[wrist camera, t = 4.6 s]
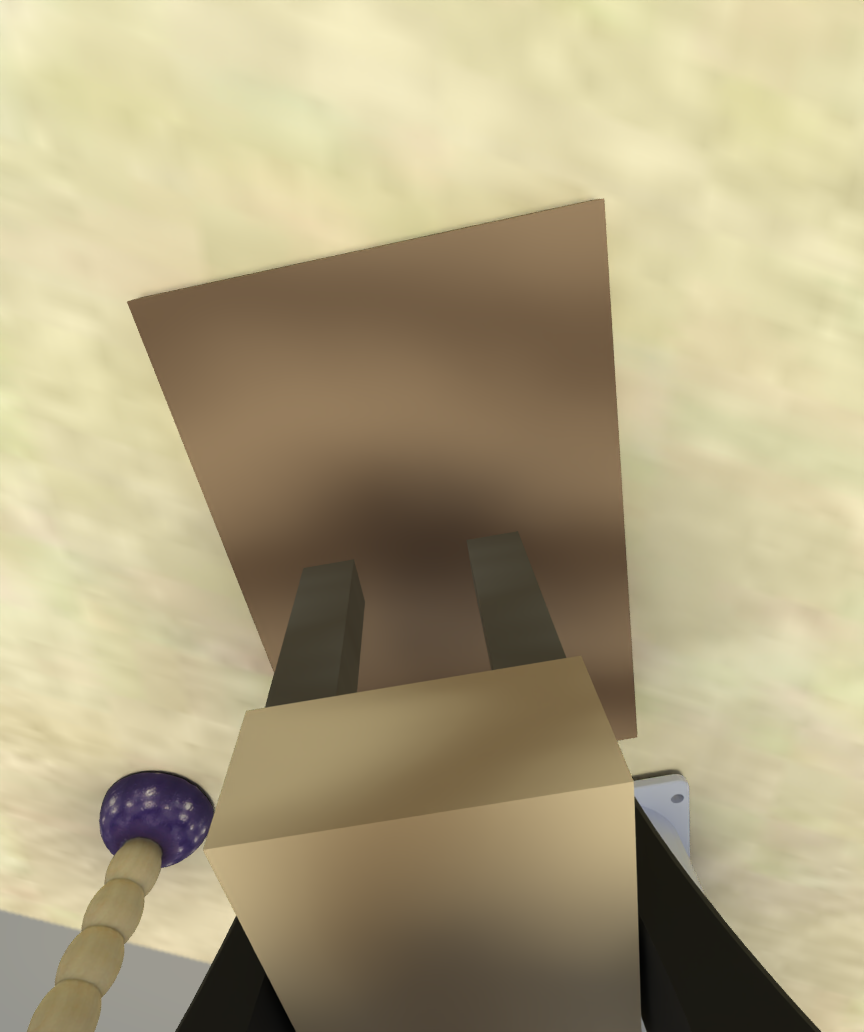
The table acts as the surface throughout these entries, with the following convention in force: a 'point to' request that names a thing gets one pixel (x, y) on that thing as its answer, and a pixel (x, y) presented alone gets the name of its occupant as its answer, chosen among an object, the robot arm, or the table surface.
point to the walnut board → (415, 436)
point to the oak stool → (434, 828)
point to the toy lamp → (123, 889)
